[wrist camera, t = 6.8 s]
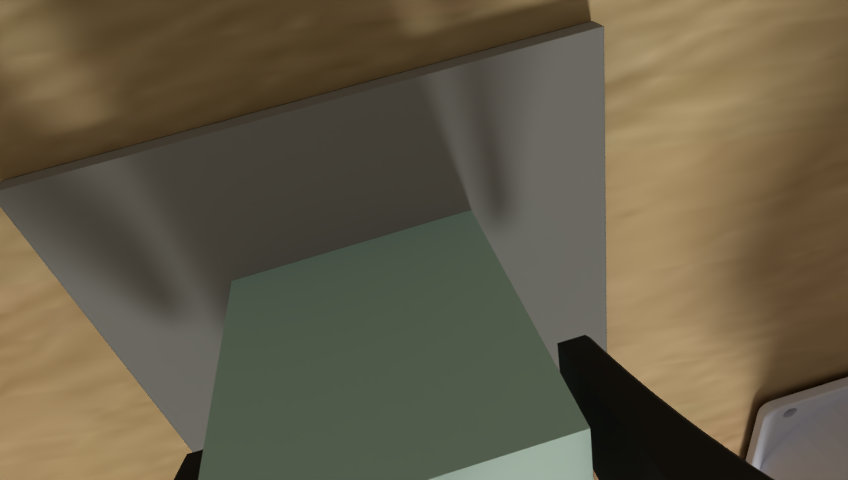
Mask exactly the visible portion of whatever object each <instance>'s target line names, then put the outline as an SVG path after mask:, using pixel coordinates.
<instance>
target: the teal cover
mask: <svg viewBox="0 0 848 480" xmlns="http://www.w3.org/2000/svg"><path fill="white" fill-rule="evenodd" d="M198 480H593V466H592V449H591V432H590V427H589V425H588V423H587V421H586V420H585V418H584V416H583V414H582V412H581V410H580V409H579V407H578V405H577V403H576V401H575V399H574V397H573V396H572V394H571V392H570V390H569V388H568V386H567V385H566V383H565V381H564V379H563V377H562V375H561V374H560V372H559V370H558V368H557V366H556V364H555V363H554V361H553V359H552V357H551V355H550V353H549V352H548V350H547V348H546V346H545V344H544V342H543V341H542V339H541V337H540V335H539V333H538V331H537V329H536V328H535V326H534V324H533V322H532V320H531V318H530V317H529V315H528V313H527V311H526V309H525V307H524V306H523V304H522V302H521V300H520V298H519V296H518V295H517V293H516V291H515V289H514V287H513V285H512V284H511V282H510V280H509V278H508V276H507V274H506V273H505V271H504V269H503V267H502V265H501V263H500V262H499V260H498V258H497V256H496V254H495V252H494V250H493V249H492V247H491V245H490V243H489V241H488V239H487V238H486V236H485V234H484V232H483V230H482V228H481V227H480V225H479V223H478V221H477V219H476V217H475V216H474V214H473V212H472V210H469V211H466V212H462V213H459V214H456V215H452V216H449V217H446V218H442V219H439V220H435V221H432V222H429V223H425V224H422V225H419V226H415V227H412V228H408V229H405V230H402V231H398V232H395V233H392V234H388V235H385V236H382V237H378V238H375V239H371V240H368V241H365V242H361V243H358V244H355V245H351V246H348V247H344V248H341V249H338V250H334V251H331V252H328V253H324V254H321V255H317V256H314V257H311V258H307V259H304V260H301V261H297V262H294V263H291V264H287V265H284V266H280V267H277V268H274V269H270V270H267V271H264V272H260V273H257V274H253V275H250V276H247V277H243V278H240V279H237V280H233V281H232V282H231V288H230V294H229V300H228V306H227V311H226V317H225V323H224V329H223V335H222V341H221V347H220V353H219V359H218V365H217V371H216V377H215V383H214V388H213V394H212V400H211V406H210V412H209V418H208V424H207V430H206V436H205V442H204V448H203V454H202V459H201V465H200V471H199V477H198Z"/></svg>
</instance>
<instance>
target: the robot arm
mask: <svg viewBox="0 0 848 480" xmlns="http://www.w3.org/2000/svg"><path fill="white" fill-rule="evenodd" d="M557 346H558V357H559V369H560V374H561V375H562V377H563V379H564V381H565V383H566V385H567V386H568V388H569V390H570V392H571V394H572V396H573V397H574V399H575V401H576V403H577V405H578V407H579V409H580V410H581V412H582V414H583V416H584V418H585V420H586V421H587V423H588V425H589V427H590V432H591V449H592V466H593V470H594V472H595V473H596V475H597V477H598V479H599V480H848V377H845V378H842V379H839V380H836V381H833V382H829V383H826V384H823V385H820V386H817V387H813V388H810V389H807V390H804V391H800V392H797V393H794V394H791V395H788V396H784V397H781V398H778V399H775V400H772V401H769V402H767V403H765V404H764V405H763V406H762V407H761V408H760V409H759V411H758V414H757V418H756V422H755V426H754V430H753V433H752V437H751V441H750V445H749V449H748V453H747V457H746V461H745V460H743V459H742V458H740V457H739V456H737V455H736V454H734V453H733V452H732V451H730V450H729V449H727V448H726V447H724V446H723V445H722V444H720V443H719V442H717V441H716V440H715V439H713V438H712V437H710V436H709V435H708V434H706V433H705V432H703V431H702V430H701V429H699V428H698V427H697V426H695V425H694V424H693V423H691V422H690V421H689V420H687V419H686V418H685V417H683V416H682V415H681V414H679V413H678V412H677V411H676V410H674V409H673V408H672V407H671V406H669V405H668V404H667V403H665V402H664V401H663V400H662V399H660V398H659V397H658V396H657V395H655V394H654V393H653V392H652V391H650V390H649V389H648V388H647V387H646V386H644V385H643V384H642V383H641V382H640V381H638V380H637V379H636V378H635V377H634V376H633V375H631V374H630V373H629V372H628V371H627V370H626V369H624V368H623V367H622V366H621V365H620V364H619V363H618V362H616V361H615V360H614V359H613V358H612V357H611V356H610V355H609V354H608V353H606V352H605V351H604V350H603V349H602V348H601V347H600V346H599V345H598V344H597V343H596V342H595V341H594V340H593V339H591V338H590V337H589V336H587V335H583V336H580V337H576V338H573V339H570V340H566V341H563V342H560V343H557ZM202 454H203V450H199V451H196V452H193V453H189V454H187V456H186V457H185V459H184V461H183V463H182V465H181V467H180V469H179V471H178V472H177V474H176V476H175V478H174V480H198V477H199V471H200V465H201V459H202Z"/></svg>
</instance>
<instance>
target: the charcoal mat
mask: <svg viewBox="0 0 848 480" xmlns="http://www.w3.org/2000/svg"><path fill="white" fill-rule="evenodd" d="M0 207H1V208H2V209H3V210H4V212H5V213H6V214H7V216H8V217H9V218H10V219H11V221H12V222H13V223H14V225H15V226H16V227H17V228H18V230H19V231H20V232H21V233H22V235H23V236H24V237H25V239H26V240H27V241H28V242H29V244H30V245H31V246H32V247H33V249H34V250H35V251H36V253H37V254H38V255H39V256H40V258H41V259H42V260H43V262H44V263H45V264H46V265H47V267H48V268H49V269H50V270H51V272H52V273H53V274H54V276H55V277H56V278H57V279H58V281H59V282H60V283H61V285H62V286H63V287H64V288H65V290H66V291H67V292H68V293H69V295H70V296H71V297H72V299H73V300H74V301H75V302H76V304H77V305H78V306H79V307H80V309H81V310H82V311H83V313H84V314H85V315H86V316H87V318H88V319H89V320H90V322H91V323H92V324H93V325H94V327H95V328H96V329H97V330H98V332H99V333H100V334H101V336H102V337H103V338H104V339H105V341H106V342H107V343H108V344H109V346H110V347H111V348H112V350H113V351H114V352H115V353H116V355H117V356H118V357H119V359H120V360H121V361H122V362H123V364H124V365H125V366H126V367H127V369H128V370H129V371H130V373H131V374H132V375H133V376H134V378H135V379H136V380H137V382H138V383H139V384H140V385H141V387H142V388H143V389H144V390H145V392H146V393H147V394H148V396H149V397H150V398H151V399H152V401H153V402H154V403H155V404H156V406H157V407H158V408H159V410H160V411H161V412H162V413H163V415H164V416H165V417H166V419H167V420H168V421H169V422H170V424H171V425H172V426H173V427H174V429H175V430H176V431H177V433H178V434H179V435H180V436H181V438H182V439H183V440H184V442H185V443H186V444H187V445H188V447H189V448H190V449H191V450H192V452H196V451H199V450H203V448H204V442H205V436H206V430H207V424H208V418H209V412H210V406H211V400H212V394H213V388H214V383H215V377H216V371H217V365H218V359H219V353H220V347H221V341H222V335H223V329H224V323H225V317H226V311H227V306H228V300H229V294H230V288H231V282H232V281H233V280H237V279H240V278H243V277H247V276H250V275H253V274H257V273H260V272H264V271H267V270H270V269H274V268H277V267H280V266H284V265H287V264H291V263H294V262H297V261H301V260H304V259H307V258H311V257H314V256H317V255H321V254H324V253H328V252H331V251H334V250H338V249H341V248H344V247H348V246H351V245H355V244H358V243H361V242H365V241H368V240H371V239H375V238H378V237H382V236H385V235H388V234H392V233H395V232H398V231H402V230H405V229H408V228H412V227H415V226H419V225H422V224H425V223H429V222H432V221H435V220H439V219H442V218H446V217H449V216H452V215H456V214H459V213H462V212H466V211H469V210H472V212H473V214H474V216H475V217H476V219H477V221H478V223H479V225H480V227H481V228H482V230H483V232H484V234H485V236H486V238H487V239H488V241H489V243H490V245H491V247H492V249H493V250H494V252H495V254H496V256H497V258H498V260H499V262H500V263H501V265H502V267H503V269H504V271H505V273H506V274H507V276H508V278H509V280H510V282H511V284H512V285H513V287H514V289H515V291H516V293H517V295H518V296H519V298H520V300H521V302H522V304H523V306H524V307H525V309H526V311H527V313H528V315H529V317H530V318H531V320H532V322H533V324H534V326H535V328H536V329H537V331H538V333H539V335H540V337H541V339H542V341H543V342H544V344H545V346H546V348H547V350H548V352H549V353H550V355H551V357H552V359H553V361H554V363H555V364H556V366H557V368H558V370H559V372H560V369H559V357H558V346H557V343H560V342H563V341H566V340H570V339H573V338H576V337H580V336H583V335H587V336H589V337H590V338H591V339H593V340H594V341H595V342H596V343H597V344H598V345H599V346H600V347H601V348H602V349H603V350H604V351H605V352H606V353H607V327H606V210H605V93H604V26H602V25H600V24H598V23H595V22H593V21H591V22H587V23H583V24H580V25H576V26H572V27H569V28H565V29H561V30H558V31H554V32H550V33H547V34H543V35H539V36H535V37H532V38H528V39H524V40H521V41H517V42H513V43H510V44H506V45H502V46H499V47H495V48H491V49H487V50H484V51H480V52H476V53H473V54H469V55H465V56H462V57H458V58H454V59H451V60H447V61H443V62H439V63H436V64H432V65H428V66H425V67H421V68H417V69H414V70H410V71H406V72H403V73H399V74H395V75H391V76H388V77H384V78H380V79H377V80H373V81H369V82H366V83H362V84H358V85H355V86H351V87H347V88H343V89H340V90H336V91H332V92H329V93H325V94H321V95H318V96H314V97H310V98H307V99H303V100H299V101H295V102H292V103H288V104H284V105H281V106H277V107H273V108H270V109H266V110H262V111H259V112H255V113H251V114H247V115H244V116H240V117H236V118H233V119H229V120H225V121H222V122H218V123H214V124H211V125H207V126H203V127H199V128H196V129H192V130H188V131H185V132H181V133H177V134H174V135H170V136H166V137H163V138H159V139H155V140H151V141H148V142H144V143H140V144H137V145H133V146H129V147H126V148H122V149H118V150H115V151H111V152H107V153H103V154H100V155H96V156H92V157H89V158H85V159H81V160H78V161H74V162H70V163H67V164H63V165H59V166H55V167H52V168H48V169H44V170H41V171H37V172H33V173H30V174H26V175H22V176H19V177H15V178H11V179H7V180H4V181H2V182H1V183H0Z"/></svg>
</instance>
